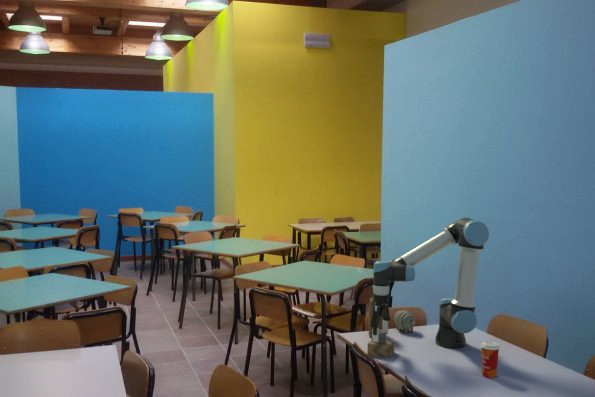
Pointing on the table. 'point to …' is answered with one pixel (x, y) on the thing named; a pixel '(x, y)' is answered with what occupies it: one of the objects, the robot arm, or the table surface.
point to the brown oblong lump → (372, 315)
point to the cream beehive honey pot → (404, 320)
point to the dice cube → (381, 337)
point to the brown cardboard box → (381, 349)
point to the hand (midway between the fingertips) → (380, 337)
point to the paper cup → (489, 359)
